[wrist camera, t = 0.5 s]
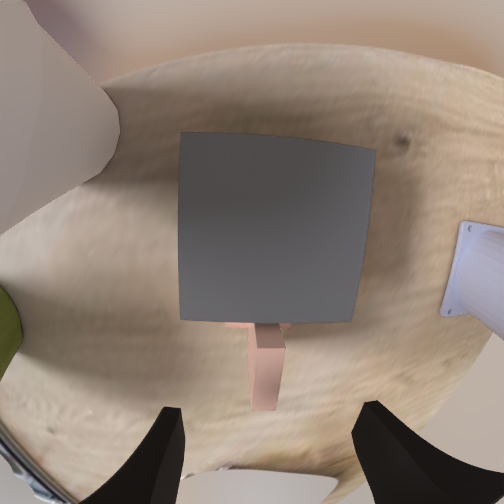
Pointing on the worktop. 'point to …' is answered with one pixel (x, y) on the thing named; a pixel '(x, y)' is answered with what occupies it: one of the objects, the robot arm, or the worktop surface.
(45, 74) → the foam cup
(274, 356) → the pink stepped block
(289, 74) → the worktop surface
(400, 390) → the worktop surface
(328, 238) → the grey square box
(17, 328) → the plant pot
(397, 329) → the worktop surface
